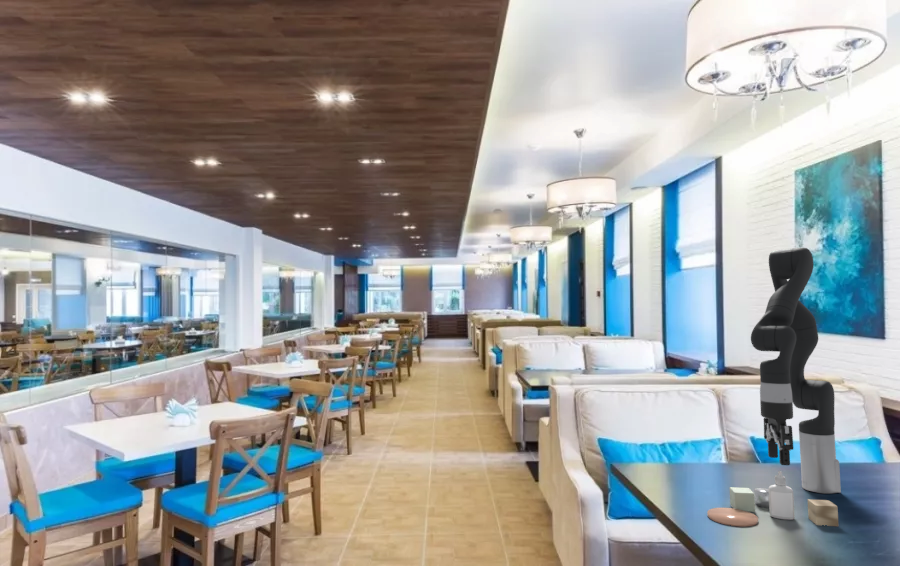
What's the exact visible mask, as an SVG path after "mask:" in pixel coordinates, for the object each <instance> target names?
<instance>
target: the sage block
mask: <svg viewBox="0 0 900 566" xmlns="http://www.w3.org/2000/svg"><path fill="white" fill-rule="evenodd" d="M729 505H730V506H731V507H732V508H734V509H740V510H744V511H747V512H750V513H756V505H755V493H754V491H752V490H751V488H749V487H736V486H735V487H732V486H731V487H730V486H729Z"/></svg>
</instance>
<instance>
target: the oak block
mask: <svg viewBox="0 0 900 566" xmlns="http://www.w3.org/2000/svg"><path fill="white" fill-rule="evenodd" d="M838 508H839V507H838V505H836V504H835V503H834V502H832V501H830V500H827V499H812V498H811V499H809V498H807V514H808V520H810V521H811V522H812V523H813V524H814V525H816V526H822V525H824V526H825V525H827V527H839V512H838V511H839V510H838ZM825 527H826V526H825Z"/></svg>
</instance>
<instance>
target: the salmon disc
mask: <svg viewBox="0 0 900 566" xmlns="http://www.w3.org/2000/svg"><path fill="white" fill-rule="evenodd" d="M706 514H707V518H709V519H710V520H712V521H713V522H715V523H718V524H721V525H726V526H730V525H731V526H732V527H740V528H741V527H744V528H746V527H753V526H756V525H758V523H759V517H758V516H757V515H755V514H754V513H753V512H749V511H744V510H740V509H734V508H733V507H732V508H731V507H712V508H710V509H708V510H707V513H706Z"/></svg>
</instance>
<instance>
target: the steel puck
mask: <svg viewBox="0 0 900 566" xmlns="http://www.w3.org/2000/svg"><path fill="white" fill-rule="evenodd" d="M753 493H754V497H755V506H757V507H761V508H764V509H765V508H766V509H769V488H766V487H765V488H763V487H758V488H754V491H753Z"/></svg>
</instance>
